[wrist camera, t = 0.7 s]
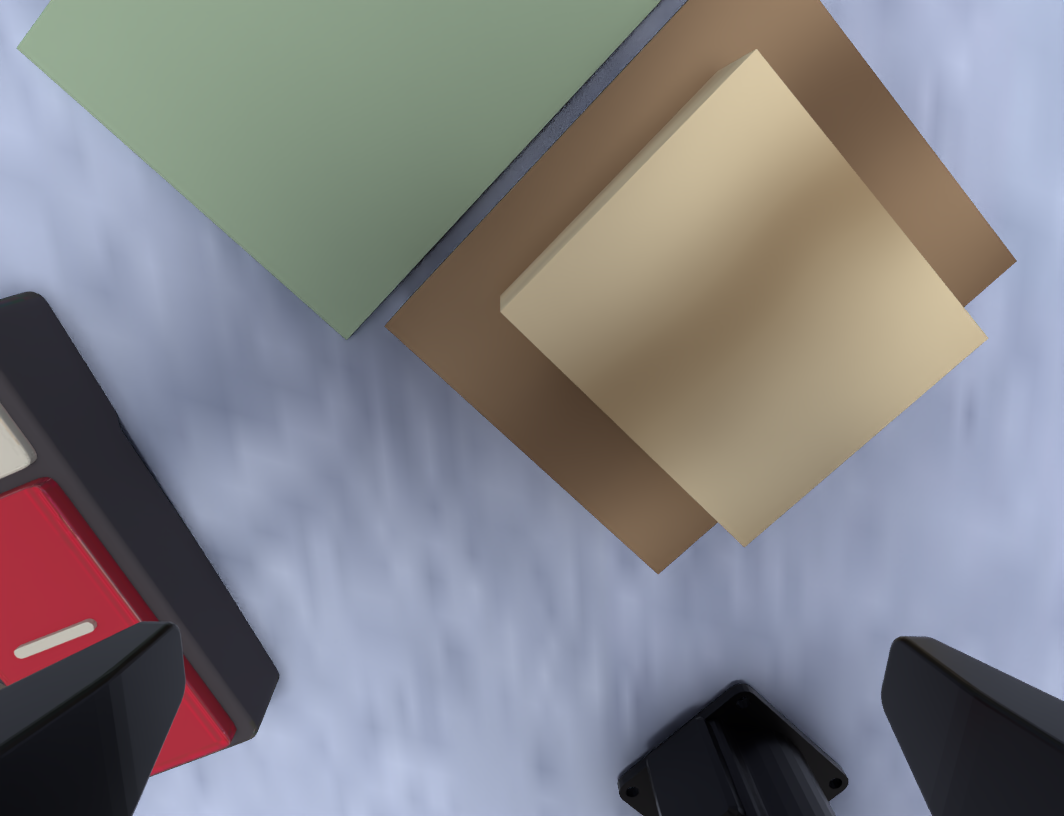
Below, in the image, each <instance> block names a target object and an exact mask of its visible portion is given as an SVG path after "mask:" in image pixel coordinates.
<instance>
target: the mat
mask: <svg viewBox="0 0 1064 816" xmlns="http://www.w3.org/2000/svg"><path fill="white" fill-rule="evenodd" d="M660 1H661V0H51V1H50V2H49V4H48V5H47V6H46V8H45V9H44V11H43V12H42V13H41V15H40V16H39V18H38V19H37V20H36V22H35V23H34V24H33V26H32V27H31V29H30V30H29V31H28V33H27V34H26V36H25V37H24V38H23V40H22V41H21V42H20V44H19V45H18V47H17V49H18V50H19V51H20V52H21V53H22V54H24V55H25V56H26V57H27V58H28V59H29V60H30V61H32V62H33V63H34V64H35V65H36V66H37V67H38V68H39V69H41V70H42V71H43V72H44V73H45V74H46V75H47V76H48V77H50V78H51V79H52V80H53V81H54V82H55V83H56V84H58V85H59V86H60V87H61V88H62V89H63V90H64V91H65V92H67V93H68V94H69V95H70V96H71V97H72V98H73V99H74V100H76V101H77V102H78V103H79V104H80V105H81V106H82V107H84V108H85V109H86V110H87V111H88V112H89V113H90V114H91V115H93V116H94V117H95V118H96V119H97V120H98V121H99V122H100V123H102V124H103V125H104V126H105V127H106V128H107V129H108V130H110V131H111V132H112V133H113V134H114V135H115V136H116V137H117V138H119V139H120V140H121V141H122V142H123V143H124V144H125V145H126V146H128V147H129V148H130V149H131V150H132V151H133V152H134V153H136V154H137V155H138V156H139V157H140V158H141V159H142V160H143V161H145V162H146V163H147V164H148V165H149V166H150V167H151V168H152V169H154V170H155V171H156V172H157V173H158V174H159V175H160V176H161V177H163V178H164V179H165V180H166V181H167V182H168V183H169V184H171V185H172V186H173V187H174V188H175V189H176V190H177V191H178V192H180V193H181V194H182V195H183V196H184V197H185V198H186V199H187V200H189V201H190V202H191V203H192V204H193V205H194V206H195V207H197V208H198V209H199V210H200V211H201V212H202V213H203V214H204V215H206V216H207V217H208V218H209V219H210V220H211V221H212V222H213V223H215V224H216V225H217V226H218V227H219V228H220V229H221V230H223V231H224V232H225V233H226V234H227V235H228V236H229V237H230V238H232V239H233V240H234V241H235V242H236V243H237V244H238V245H239V246H241V247H242V248H243V249H244V250H245V251H246V252H247V253H249V254H250V255H251V256H252V257H253V258H254V259H255V260H256V261H258V262H259V263H260V264H261V265H262V266H263V267H264V268H265V269H267V270H268V271H269V272H270V273H271V274H272V275H273V276H274V277H276V278H277V279H278V280H279V281H280V282H281V283H282V284H284V285H285V286H286V287H287V288H288V289H289V290H290V291H291V292H293V293H294V294H295V295H296V296H297V297H298V298H299V299H300V300H302V301H303V302H304V303H305V304H306V305H307V306H308V307H310V308H311V309H312V310H313V311H314V312H315V313H316V314H317V315H319V316H320V317H321V318H322V319H323V320H324V321H325V322H326V323H328V324H329V325H330V326H331V327H332V328H333V329H334V330H336V331H337V332H338V333H339V334H340V335H341V336H342V337H343V338H345V339H346V340H347V339H348V338H349V337H350V336H351V335H352V334H353V333H354V332H355V331H356V330H357V329H358V328H359V326H360V325H361V324H362V323H363V322H364V321H365V320H366V319H367V318H368V317H369V316H370V315H371V313H372V312H373V311H374V310H375V309H376V308H377V307H378V306H379V305H380V304H381V303H382V302H383V301H384V299H385V298H386V297H387V296H388V295H389V294H390V293H391V292H392V291H393V290H394V289H395V288H396V286H397V285H398V284H399V283H400V282H401V281H402V280H403V279H404V278H405V277H406V276H407V275H408V274H409V272H410V271H411V270H412V269H413V268H414V267H415V266H416V265H417V264H418V263H419V262H420V261H421V259H422V258H423V257H424V256H425V255H426V254H427V253H428V252H429V251H430V250H431V249H432V248H433V247H434V245H435V244H436V243H437V242H438V241H439V240H440V239H441V238H442V237H443V236H444V235H445V234H446V232H447V231H448V230H449V229H450V228H451V227H452V226H453V225H454V224H455V223H456V222H457V221H458V220H459V218H460V217H461V216H462V215H463V214H464V213H465V212H466V211H467V210H468V209H469V208H470V207H471V205H472V204H473V203H474V202H475V201H476V200H477V199H478V198H479V197H480V196H481V195H482V194H483V193H484V191H485V190H486V189H487V188H488V187H489V186H490V185H491V184H492V183H493V182H494V181H495V180H496V178H497V177H498V176H499V175H500V174H501V173H502V172H503V171H504V170H505V169H506V168H507V167H508V166H509V164H510V163H511V162H512V161H513V160H514V159H515V158H516V157H517V156H518V155H519V154H520V153H521V151H522V150H523V149H524V148H525V147H526V146H527V145H528V144H529V143H530V142H531V141H532V140H533V139H534V137H535V136H536V135H537V134H538V133H539V132H540V131H541V130H542V129H543V128H544V127H545V126H546V124H547V123H548V122H549V121H550V120H551V119H552V118H553V117H554V116H555V115H556V114H557V113H558V111H559V110H560V109H561V108H562V107H563V106H564V105H565V104H566V103H567V102H568V101H569V100H570V99H571V97H572V96H573V95H574V94H575V93H576V92H577V91H578V90H579V89H580V88H581V87H582V86H583V84H584V83H585V82H586V81H587V80H588V79H589V78H590V77H591V76H592V75H593V74H594V73H595V72H596V70H597V69H598V68H599V67H600V66H601V65H602V64H603V63H604V62H605V61H606V60H607V59H608V57H609V56H610V55H611V54H612V53H613V52H614V51H615V50H616V49H617V48H618V47H619V46H620V45H621V43H622V42H623V41H624V40H625V39H626V38H627V37H628V36H629V35H630V34H631V33H632V32H633V30H634V29H635V28H636V27H637V26H638V25H639V24H640V23H641V22H642V21H643V20H644V19H645V18H646V16H647V15H648V14H649V13H650V12H651V11H652V10H653V9H654V8H655V7H656V6H657V5H658V3H659V2H660Z"/></svg>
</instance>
